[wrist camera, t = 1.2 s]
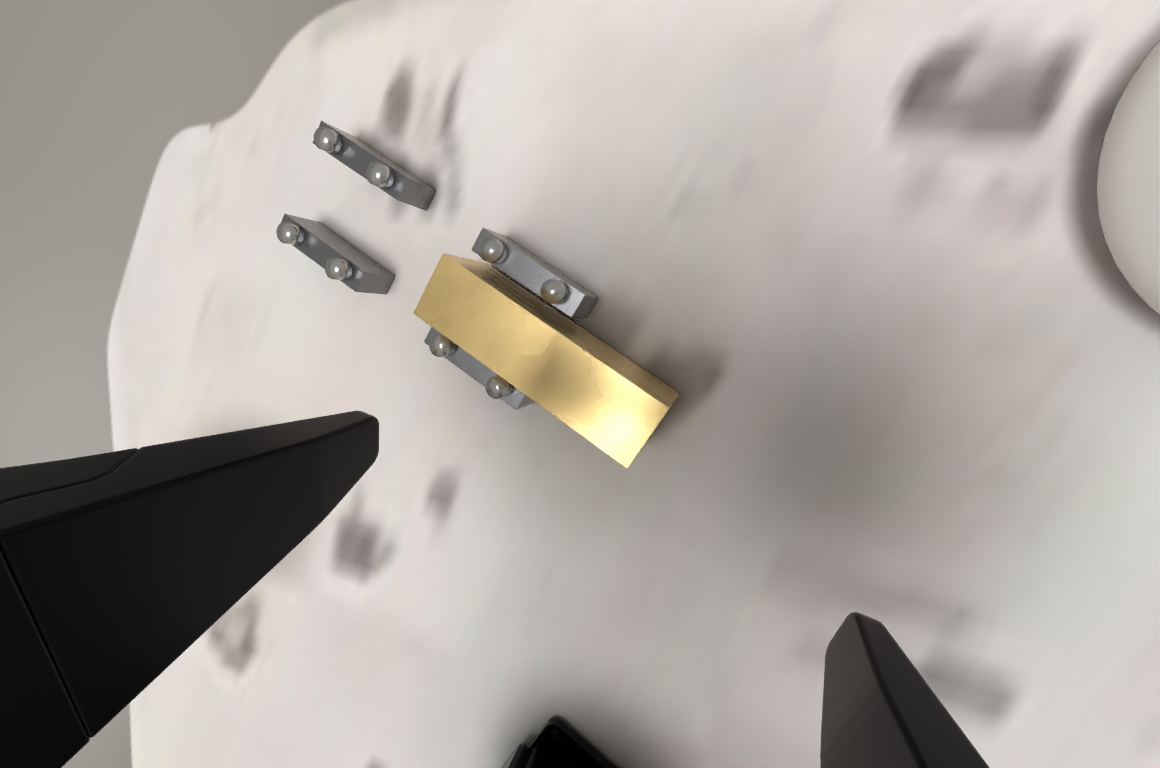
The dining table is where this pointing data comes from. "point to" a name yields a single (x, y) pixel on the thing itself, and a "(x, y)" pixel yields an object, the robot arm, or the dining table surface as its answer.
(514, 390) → the block with bolts
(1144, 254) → the flower in vase
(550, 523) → the dining table surface
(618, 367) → the brushed brass bar
